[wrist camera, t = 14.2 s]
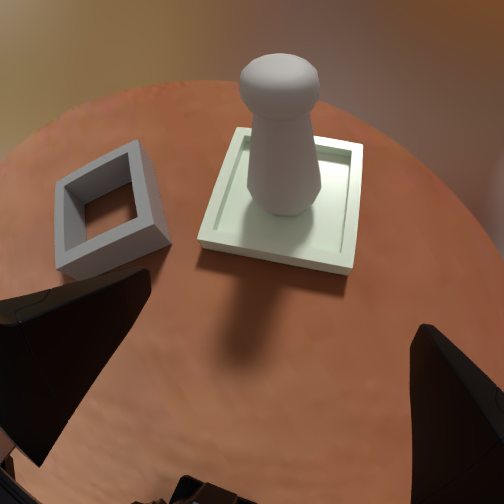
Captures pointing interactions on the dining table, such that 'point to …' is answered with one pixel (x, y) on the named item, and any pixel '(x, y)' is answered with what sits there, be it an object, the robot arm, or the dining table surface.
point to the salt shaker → (281, 133)
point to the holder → (121, 237)
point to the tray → (288, 227)
